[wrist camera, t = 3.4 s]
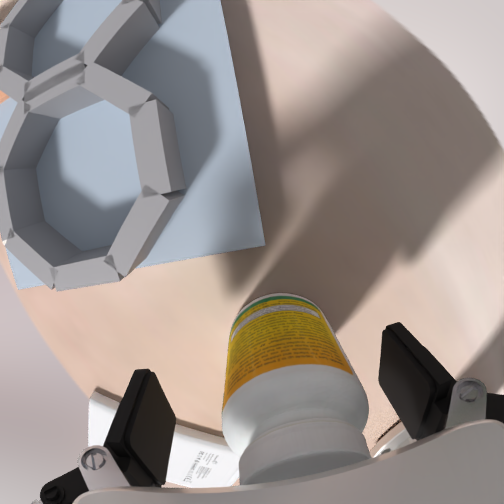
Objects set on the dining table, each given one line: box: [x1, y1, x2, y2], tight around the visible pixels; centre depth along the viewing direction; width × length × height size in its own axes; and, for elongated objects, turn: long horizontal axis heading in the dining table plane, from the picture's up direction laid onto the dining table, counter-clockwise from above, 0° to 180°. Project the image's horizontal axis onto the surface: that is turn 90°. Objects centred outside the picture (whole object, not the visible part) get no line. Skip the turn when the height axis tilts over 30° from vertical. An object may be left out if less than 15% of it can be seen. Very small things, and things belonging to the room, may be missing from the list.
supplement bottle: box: [222, 293, 372, 486], centre depth 11 cm, size 5×5×10 cm
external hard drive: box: [88, 391, 240, 488], centre depth 18 cm, size 2×8×12 cm
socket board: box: [0, 0, 265, 291], centre depth 10 cm, size 17×14×4 cm
